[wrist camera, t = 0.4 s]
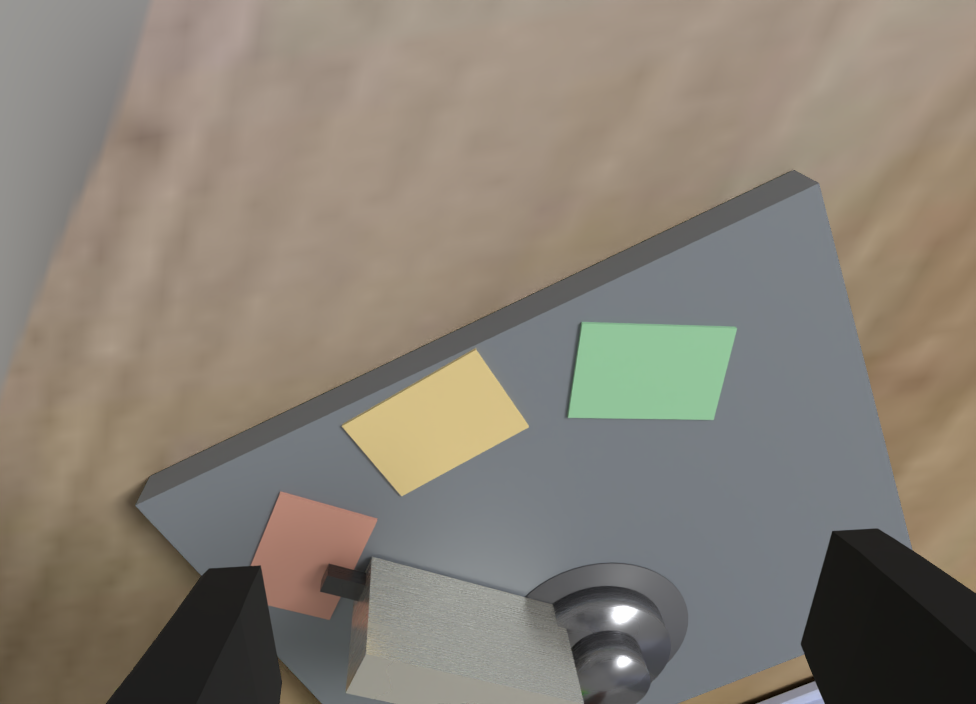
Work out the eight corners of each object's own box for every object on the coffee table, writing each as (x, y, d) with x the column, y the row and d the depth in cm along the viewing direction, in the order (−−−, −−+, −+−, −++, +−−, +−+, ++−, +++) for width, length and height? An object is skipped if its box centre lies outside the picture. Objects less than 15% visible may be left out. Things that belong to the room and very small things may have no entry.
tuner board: (904, 578, 24) (928, 609, 23) (417, 771, 26) (417, 807, 25) (793, 169, 17) (821, 184, 16) (149, 476, 20) (133, 508, 18)
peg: (687, 605, 22) (728, 699, 19) (622, 692, 24) (651, 790, 21) (350, 510, 19) (341, 604, 16) (302, 616, 21) (285, 719, 18)
